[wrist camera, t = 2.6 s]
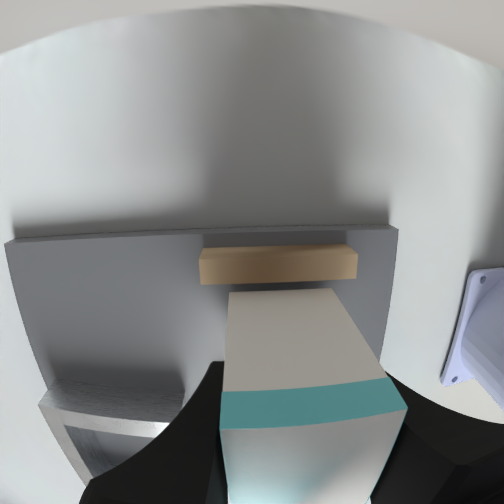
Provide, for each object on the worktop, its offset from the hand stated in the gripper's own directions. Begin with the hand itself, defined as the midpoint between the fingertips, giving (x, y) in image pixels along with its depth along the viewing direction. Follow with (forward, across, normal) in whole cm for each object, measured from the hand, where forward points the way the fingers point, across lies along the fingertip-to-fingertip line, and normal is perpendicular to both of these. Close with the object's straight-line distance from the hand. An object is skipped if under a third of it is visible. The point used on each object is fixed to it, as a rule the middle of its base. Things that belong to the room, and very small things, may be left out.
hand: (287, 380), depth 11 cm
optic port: (+4, +9, +8) cm, 12 cm away
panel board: (+5, +4, +4) cm, 7 cm away
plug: (+2, 0, 0) cm, 2 cm away
